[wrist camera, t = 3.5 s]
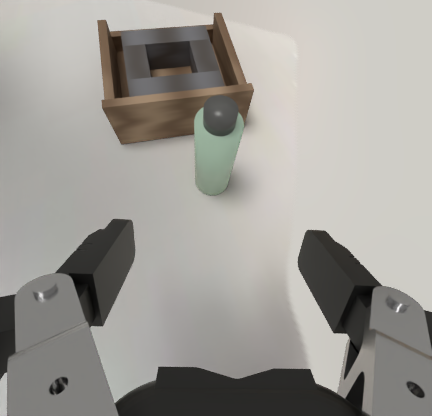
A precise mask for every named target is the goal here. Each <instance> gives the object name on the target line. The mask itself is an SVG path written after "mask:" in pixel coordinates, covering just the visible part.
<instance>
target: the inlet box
mask: <svg viewBox="0 0 432 416" xmlns="http://www.w3.org/2000/svg"><path fill="white" fill-rule="evenodd" d="M97 21H98V32H99V43H100V54H101V65H102V76H103V87H104V98H105V100H102V108H103V110H104V112H105V114H106V116H107V118H108V120H109V122H110V124H111V126H112V127H113V129H114V131H115V133H116V135H117V137H118V139H119V141H120V143H121V144H127V143H134V142H141V141H148V140H155V139H162V138H169V137H176V136H183V135H191V134H194V119H195V116H196V114H197V112H198V111H199V110H200V109H201V108H203V107H204V103H205V102H206V100H207V99H209V98H210V97H212V96H216V95H223V96H227V97H230V98H231V99H233V100H234V101H235V102H236V103H237V105H238V109H239V113H240V115H241V116H242V118H243V121H244V124H245V120H246V117H247V113H248V110H249V106H250V102H251V99H252V95H253V92H254V89H253V86H252V83H249V84H247V82H246V80H245V77H244V74H243V71H242V69H241V66H240V63H239V60H238V58H237V55H236V52H235V49H234V46H233V44H232V41H231V38H230V35H229V33H228V30H227V27H226V24H225V22H224V19H223V17H222V14H221V13H214V22H213V25H199V26H184V27H170V28H156V29H142V30H127V31H113V32H110V31H109V28H108V25H107V22H106V20H97Z"/></svg>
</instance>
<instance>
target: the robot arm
mask: <svg viewBox="0 0 432 416" xmlns="http://www.w3.org/2000/svg"><path fill="white" fill-rule="evenodd" d="M134 257H135V242H134V230H133V222H132V220H125V219H113V220H112V221H111V222H110V223H109V224H108V226H107V227H106V228H105V229H99V230H97V231H96V232H94V233H92V234H91V235H89V236H88V237H87V238H86V239H85V240H84V241H83V243H82V244H81V245H80V246H79V247H78V248H77V250H76V251H74V253H73V254H72V255H71V256H70V257H69V258H68V259H67V260H66V261H65V263H64V264H63V265H62V266H61V267H60V268H59V269H58V270H57V271H56V273H55V274H48V275H44V276H41V277H38V278H36V279H34V280H32V281H30V282H29V283H27V284H26V285H24V286H23V287H22V288H21V289H20V290H19V291H18V292H17V294H15V295H10V296H4V297H0V379H1V378H2V376H3V375H4V373H6V372H7V416H432V312H429V311H425V310H423V308H422V307H421V306H420V304H419V303H418V302H416V301H415V300H414V299H413V298H411V297H410V296H408V295H407V294H405V293H403V292H401V291H399V290H397V289H394V288H391V287H386V286H382V285H381V284H380V283H379V282H378V281H377V280H376V279H375V278H374V277H373V276H372V275H371V274H370V273H369V271H368V270H367V269H366V268H365V267H364V266H363V265H361V264H360V262H359V261H358V260H357V259H356V258H354V256H353V255H352V254H351V252H350V251H349V250H348V249H347V248H345V247H343V246H342V245H340V244H339V243H337V242H335V241H334V240H333V239H332V238H331V236H330V235H329V234H328V233H327V232H326V231H320V230H307V231H306V233H305V236H304V239H303V243H302V246H301V249H300V253H299V257H298V267H299V270H300V272H301V274H302V276H303V278H304V280H305V281H306V283H307V285H308V287H309V289H310V291H311V292H312V294H313V296H314V298H315V300H316V302H317V304H318V305H319V307H320V309H321V311H322V313H323V315H324V316H325V318H326V320H327V322H328V324H329V326H330V327H331V329H332V331H333V333H345V334H348V336H349V340H348V342H347V345H346V350H345V356H344V361H343V366H342V371H341V377H340V382H339V387H338V391H337V393H335V392H334V391H332V390H330V389H328V388H326V387H323V386H321V385H319V384H316V383H315V381H314V378H313V375H312V373H311V370H310V369H271V370H268V371H264V372H261V373H258V374H254V375H251V376H247V377H244V378H240V379H234V378H230V377H227V376H224V375H220V374H217V373H214V372H211V371H207V370H204V369H201V368H197V367H158V373H157V378H156V381H152V382H149V383H147V384H144V385H142V386H140V387H138V388H136V389H134V390H132V391H131V392H129V393H127V394H126V395H125V396H123V397H122V398H120V399H119V400H118V401H117V402H116V403H114V400H113V397H112V394H111V391H110V388H109V385H108V382H107V379H106V376H105V373H104V370H103V367H102V364H101V361H100V358H99V355H98V352H97V349H96V346H95V343H94V339H93V336H92V333H91V330H90V327H91V326H103V325H104V323H105V321H106V319H107V317H108V314H109V312H110V310H111V308H112V306H113V304H114V302H115V300H116V298H117V295H118V293H119V291H120V289H121V287H122V285H123V283H124V281H125V279H126V276H127V274H128V272H129V270H130V268H131V266H132V264H133V261H134Z"/></svg>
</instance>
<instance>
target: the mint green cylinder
mask: <svg viewBox="0 0 432 416" xmlns="http://www.w3.org/2000/svg"><path fill="white" fill-rule="evenodd" d="M243 129H244V121H243V118H242V116H241V115H240V113H239V109H238V105H237V103H236V102H235V101H234V100H233V99H231V98H230V97H227V96H223V95H216V96H212V97H210V98H209V99H207V100H206V102H205V103H204V107H203V108H201V109H200V110H199V111H198V112H197V114H196V116H195V119H194V138H195V182H196V186H197V188H198V189H199V190H200V191H201V192H202V193H204V194H207V195H218V194H220V193H222V192H223V191H224V190H225V189H226V187H227V185H228V182H229V178H230V175H231V171H232V168H233V164H234V161H235V157H236V154H237V150H238V147H239V143H240V140H241V136H242V133H243Z"/></svg>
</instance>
